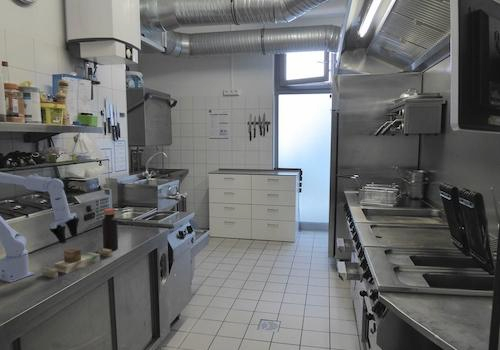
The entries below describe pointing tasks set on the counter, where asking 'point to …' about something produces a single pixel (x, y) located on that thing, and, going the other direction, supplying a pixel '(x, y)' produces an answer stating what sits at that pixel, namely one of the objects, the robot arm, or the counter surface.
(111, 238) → the bottle
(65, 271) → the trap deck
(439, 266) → the counter surface
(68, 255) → the walnut block
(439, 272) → the counter surface
